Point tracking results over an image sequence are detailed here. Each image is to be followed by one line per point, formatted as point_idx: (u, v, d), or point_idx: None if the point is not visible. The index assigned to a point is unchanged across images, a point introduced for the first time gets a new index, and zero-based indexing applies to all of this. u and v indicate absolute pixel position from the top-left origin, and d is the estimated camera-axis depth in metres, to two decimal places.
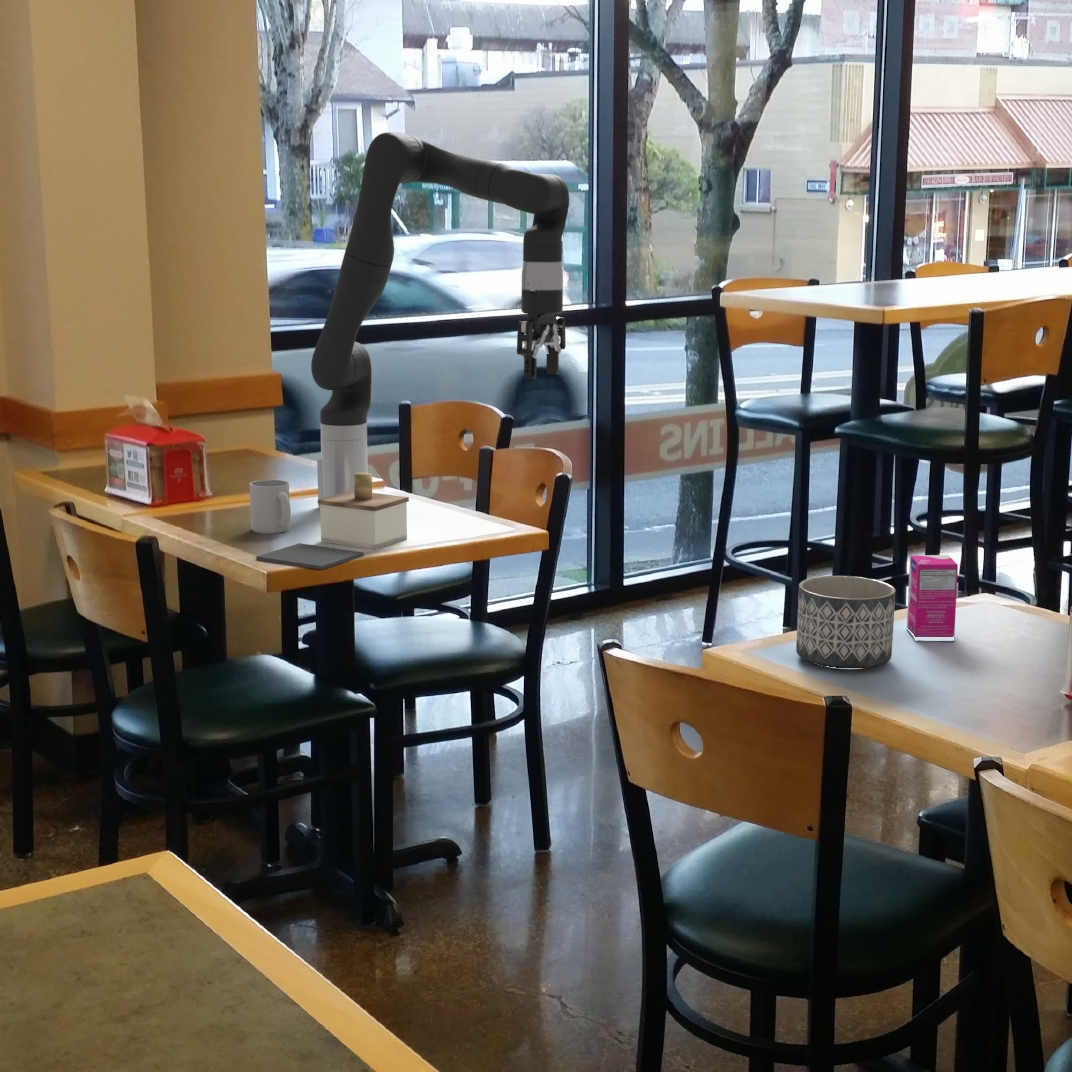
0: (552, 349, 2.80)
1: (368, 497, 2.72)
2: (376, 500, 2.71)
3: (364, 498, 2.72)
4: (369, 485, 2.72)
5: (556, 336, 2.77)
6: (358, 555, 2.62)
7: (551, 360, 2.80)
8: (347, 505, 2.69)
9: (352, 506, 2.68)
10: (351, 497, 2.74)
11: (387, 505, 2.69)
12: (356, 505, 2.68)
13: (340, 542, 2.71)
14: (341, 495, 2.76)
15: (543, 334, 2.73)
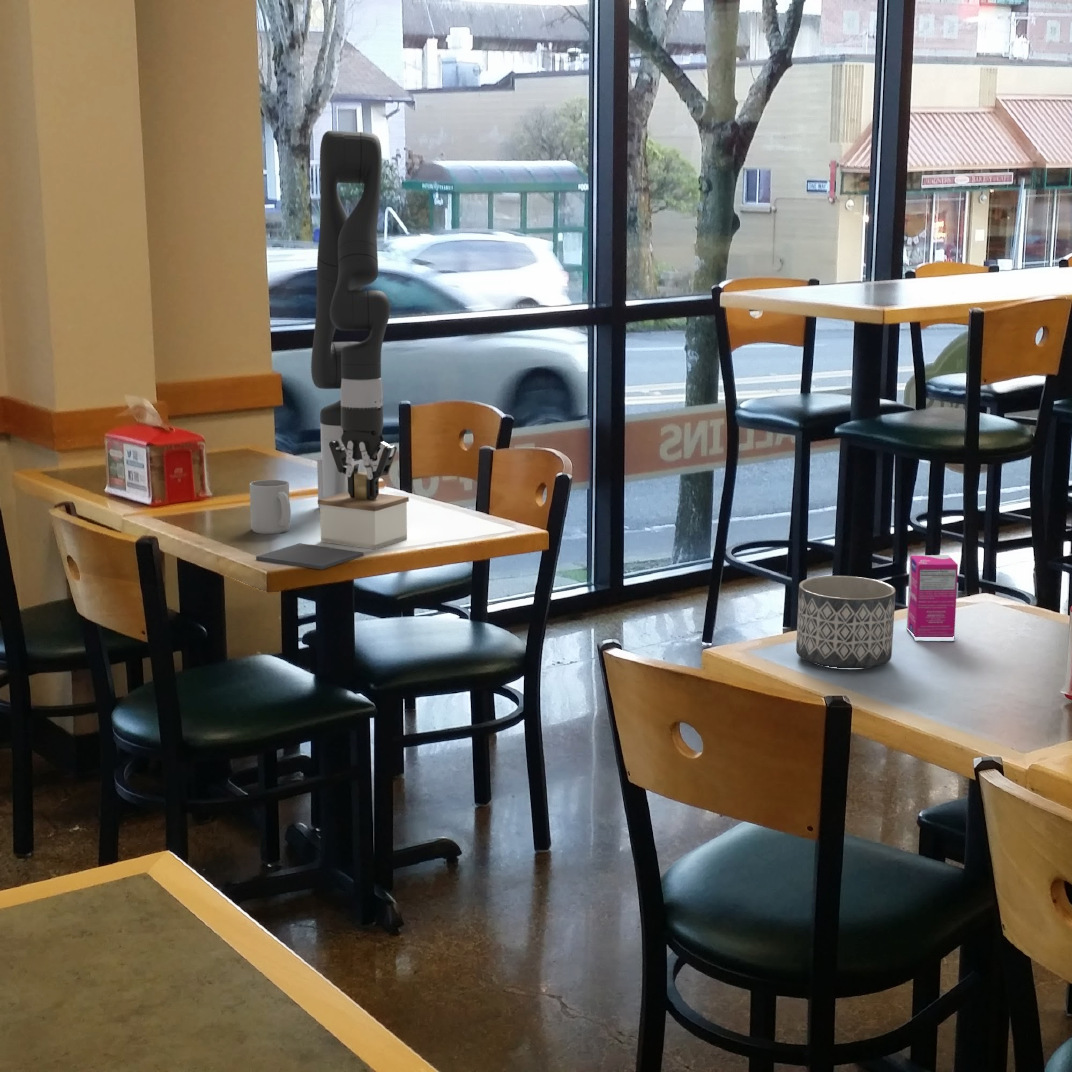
0: (355, 472, 2.73)
1: None
2: (376, 500, 2.71)
3: (364, 498, 2.72)
4: None
5: None
6: (358, 555, 2.62)
7: None
8: (347, 505, 2.69)
9: (352, 506, 2.68)
10: (351, 497, 2.74)
11: (387, 505, 2.69)
12: (356, 505, 2.68)
13: (340, 542, 2.71)
14: (341, 495, 2.76)
15: None
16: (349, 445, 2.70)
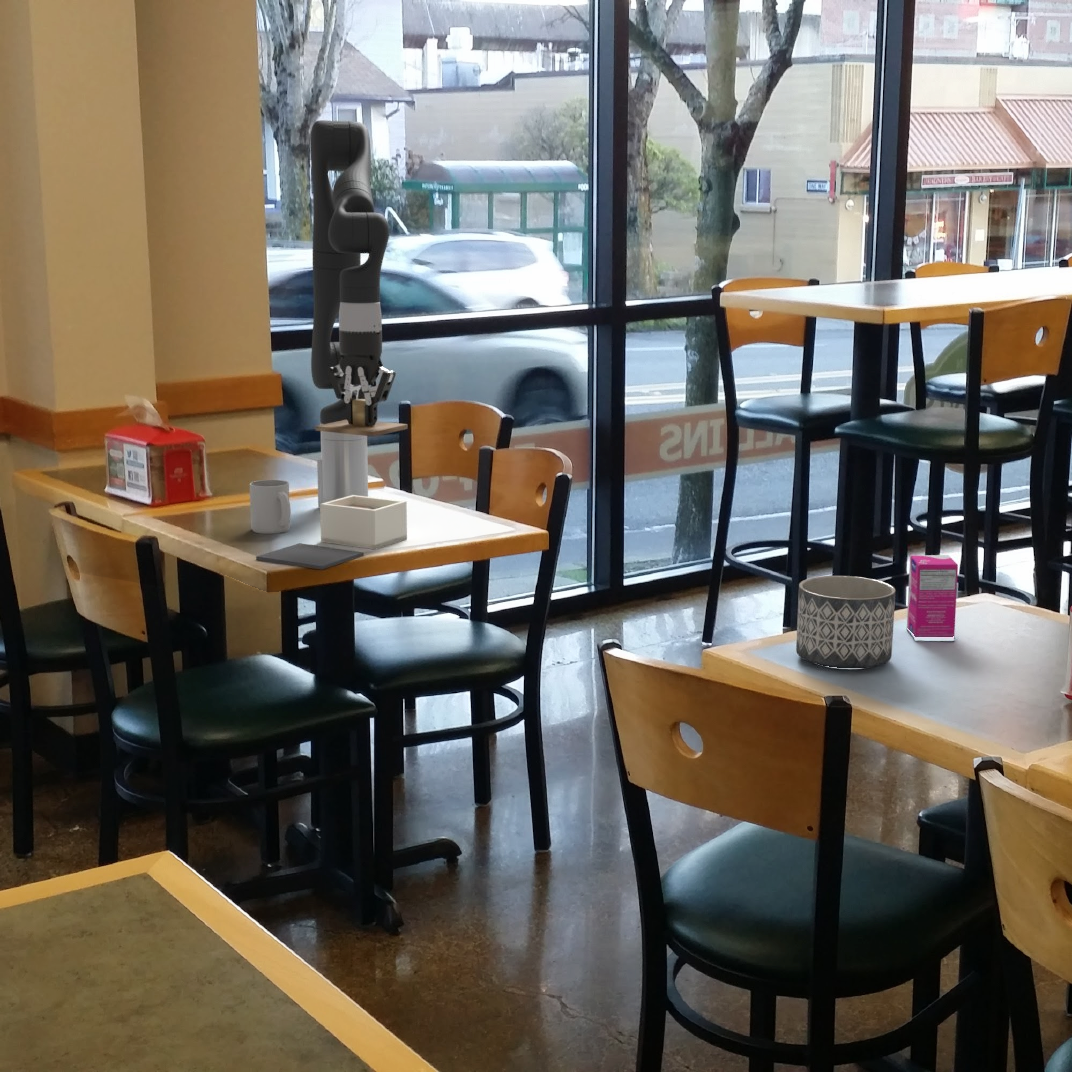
0: (353, 398, 2.70)
1: None
2: (374, 426, 2.69)
3: (362, 424, 2.69)
4: None
5: None
6: (358, 555, 2.62)
7: None
8: (345, 431, 2.66)
9: (350, 432, 2.65)
10: (349, 424, 2.71)
11: (386, 431, 2.66)
12: (354, 431, 2.65)
13: (340, 542, 2.71)
14: (339, 422, 2.73)
15: None
16: (347, 370, 2.67)
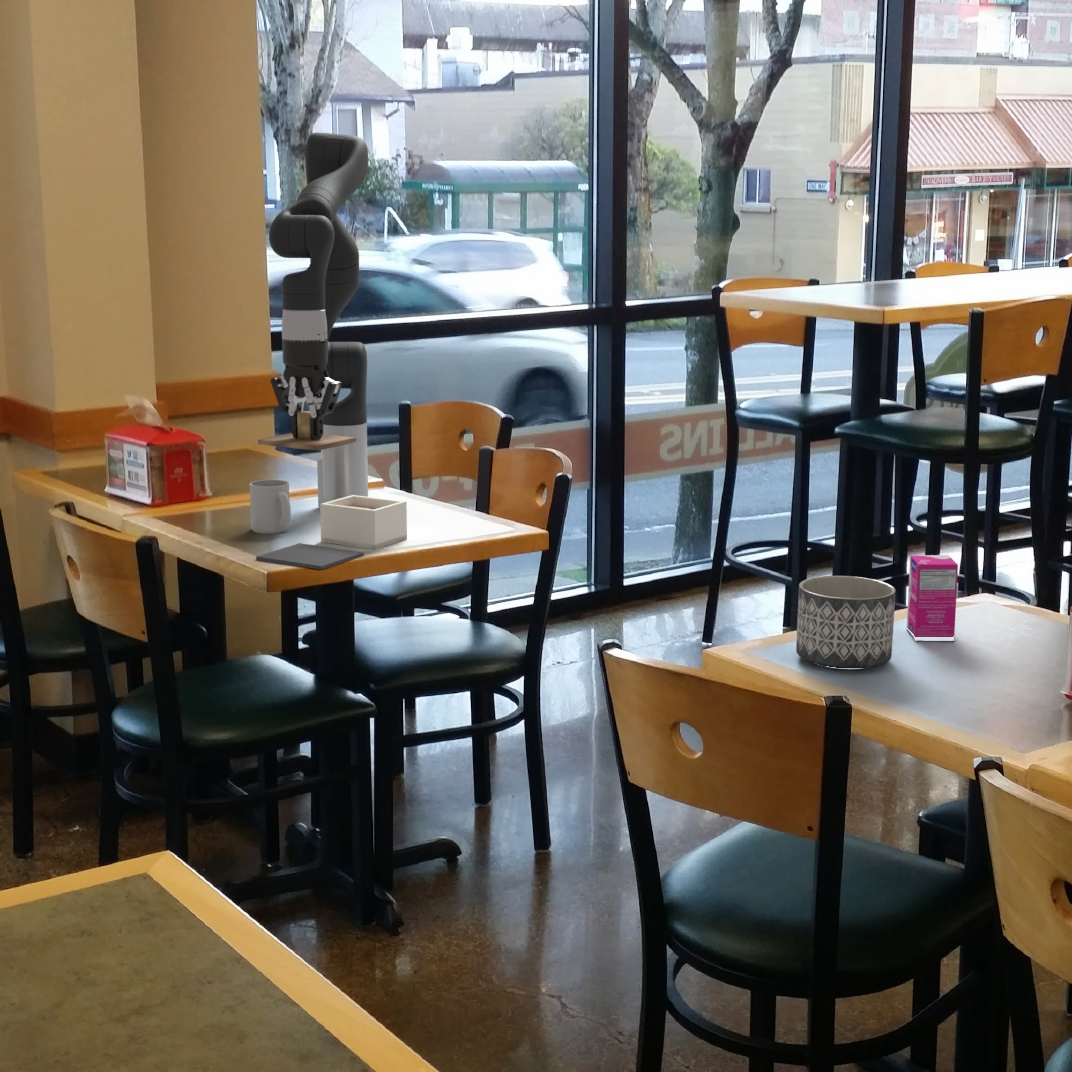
0: (298, 410, 2.57)
1: None
2: (320, 440, 2.55)
3: (308, 438, 2.55)
4: None
5: None
6: (358, 555, 2.62)
7: None
8: (289, 445, 2.52)
9: (294, 446, 2.52)
10: None
11: (331, 445, 2.53)
12: (298, 444, 2.51)
13: (340, 542, 2.71)
14: (284, 436, 2.59)
15: None
16: (291, 381, 2.54)
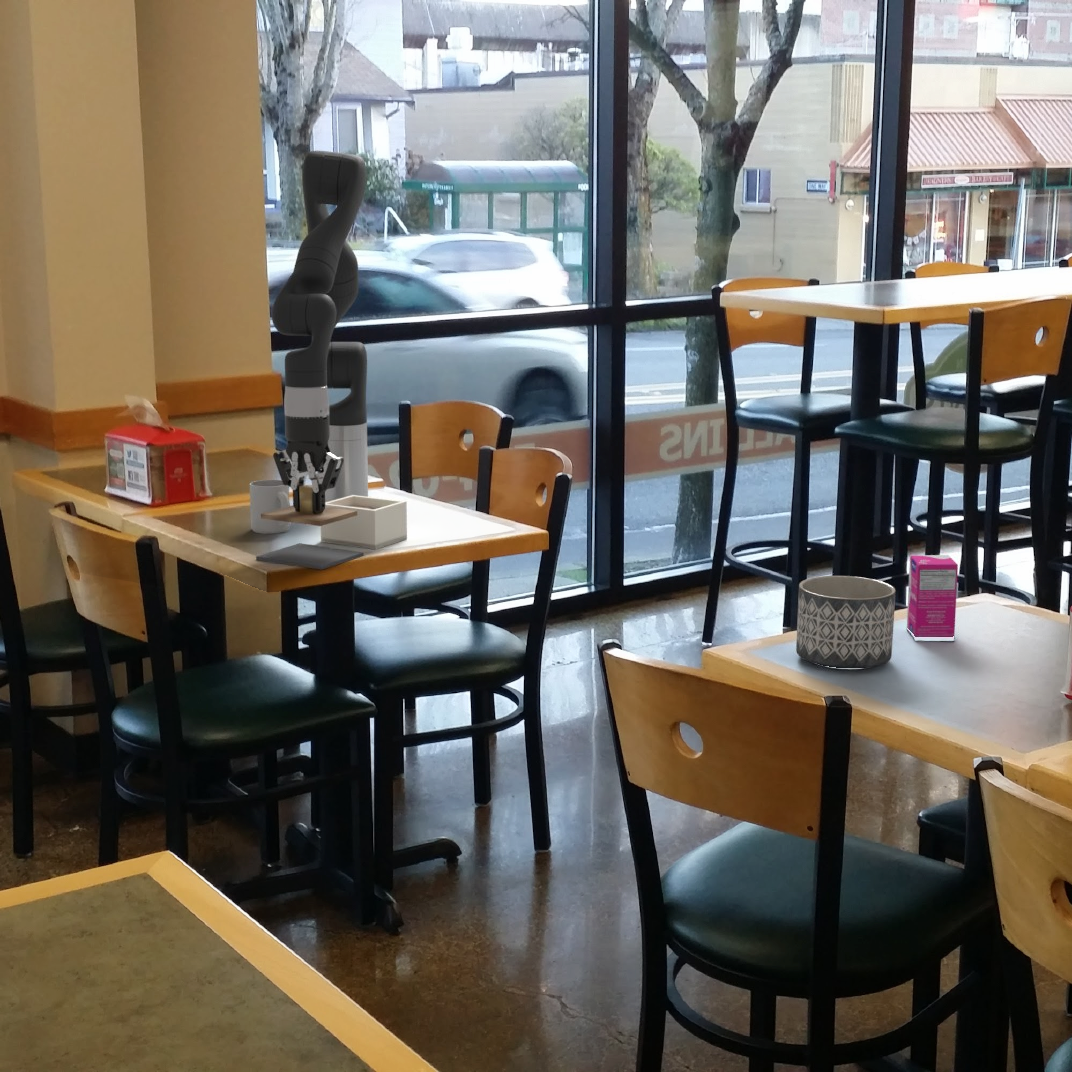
0: (300, 485, 2.60)
1: None
2: (322, 514, 2.58)
3: (310, 512, 2.58)
4: None
5: None
6: (358, 555, 2.62)
7: None
8: (291, 520, 2.55)
9: (296, 521, 2.55)
10: (296, 511, 2.60)
11: (333, 519, 2.55)
12: (300, 520, 2.54)
13: (340, 542, 2.71)
14: (286, 509, 2.62)
15: None
16: (294, 456, 2.57)
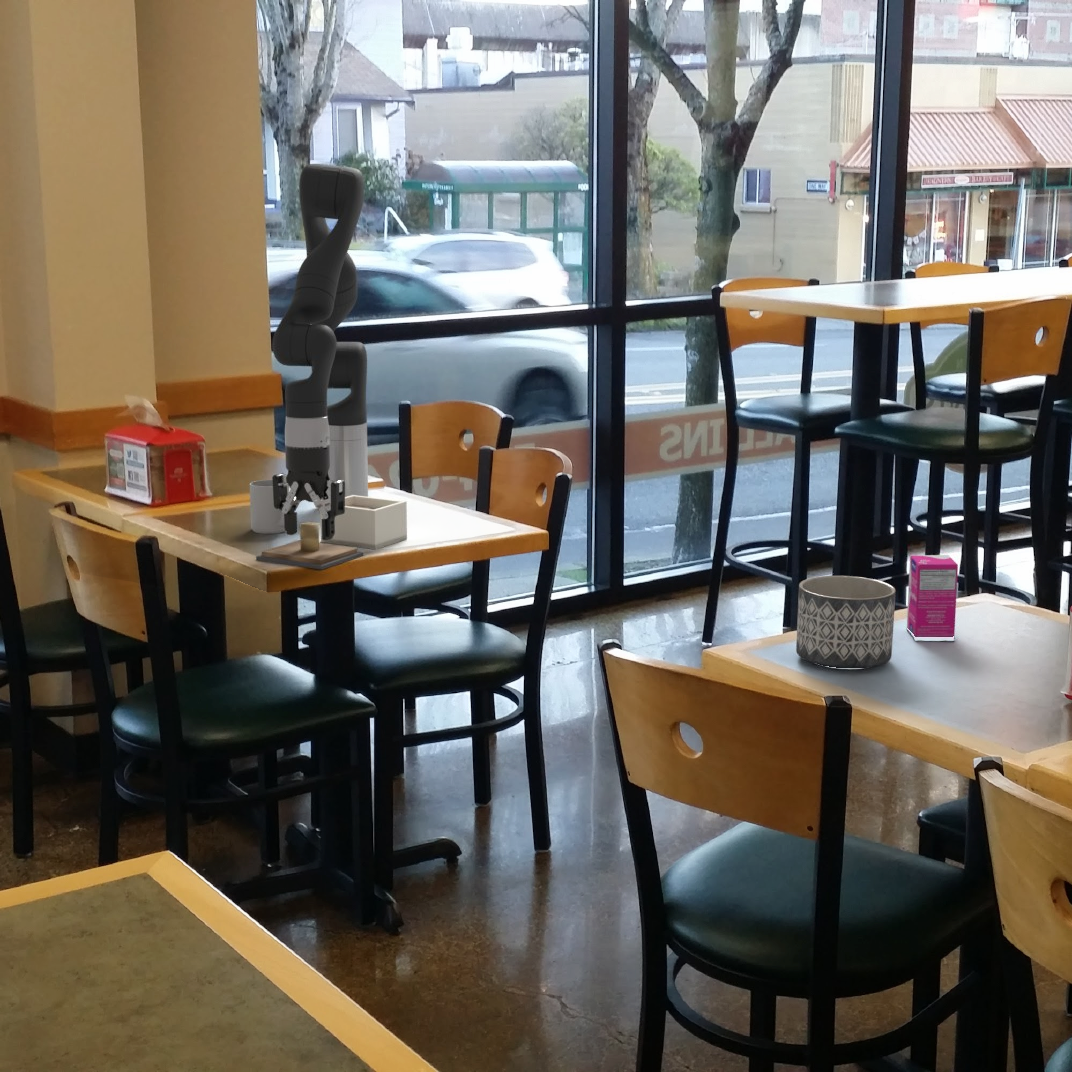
0: (291, 508, 2.61)
1: (315, 548, 2.60)
2: (323, 552, 2.59)
3: (310, 550, 2.60)
4: (316, 536, 2.60)
5: None
6: (358, 555, 2.62)
7: (292, 520, 2.62)
8: (292, 558, 2.57)
9: (297, 559, 2.56)
10: (297, 548, 2.62)
11: (334, 558, 2.57)
12: (301, 558, 2.56)
13: (340, 542, 2.71)
14: (287, 546, 2.64)
15: (325, 490, 2.59)
16: (294, 485, 2.58)
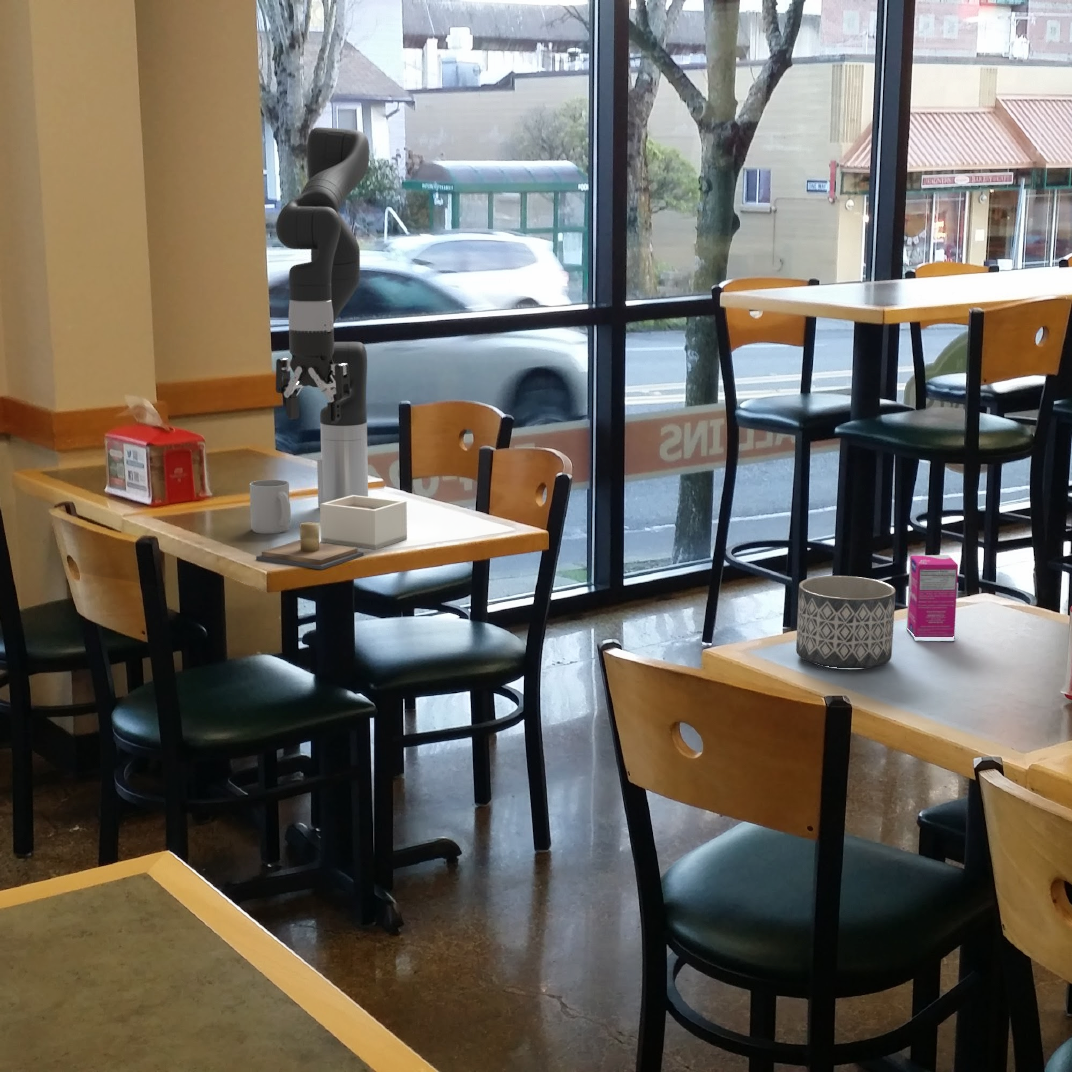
0: (293, 392, 2.61)
1: (315, 548, 2.60)
2: (323, 552, 2.59)
3: (310, 550, 2.60)
4: (316, 536, 2.60)
5: None
6: (358, 555, 2.62)
7: (294, 404, 2.61)
8: (292, 558, 2.57)
9: (297, 559, 2.56)
10: (297, 548, 2.62)
11: (334, 558, 2.57)
12: (301, 558, 2.56)
13: (340, 542, 2.71)
14: (287, 546, 2.64)
15: None
16: (297, 370, 2.57)
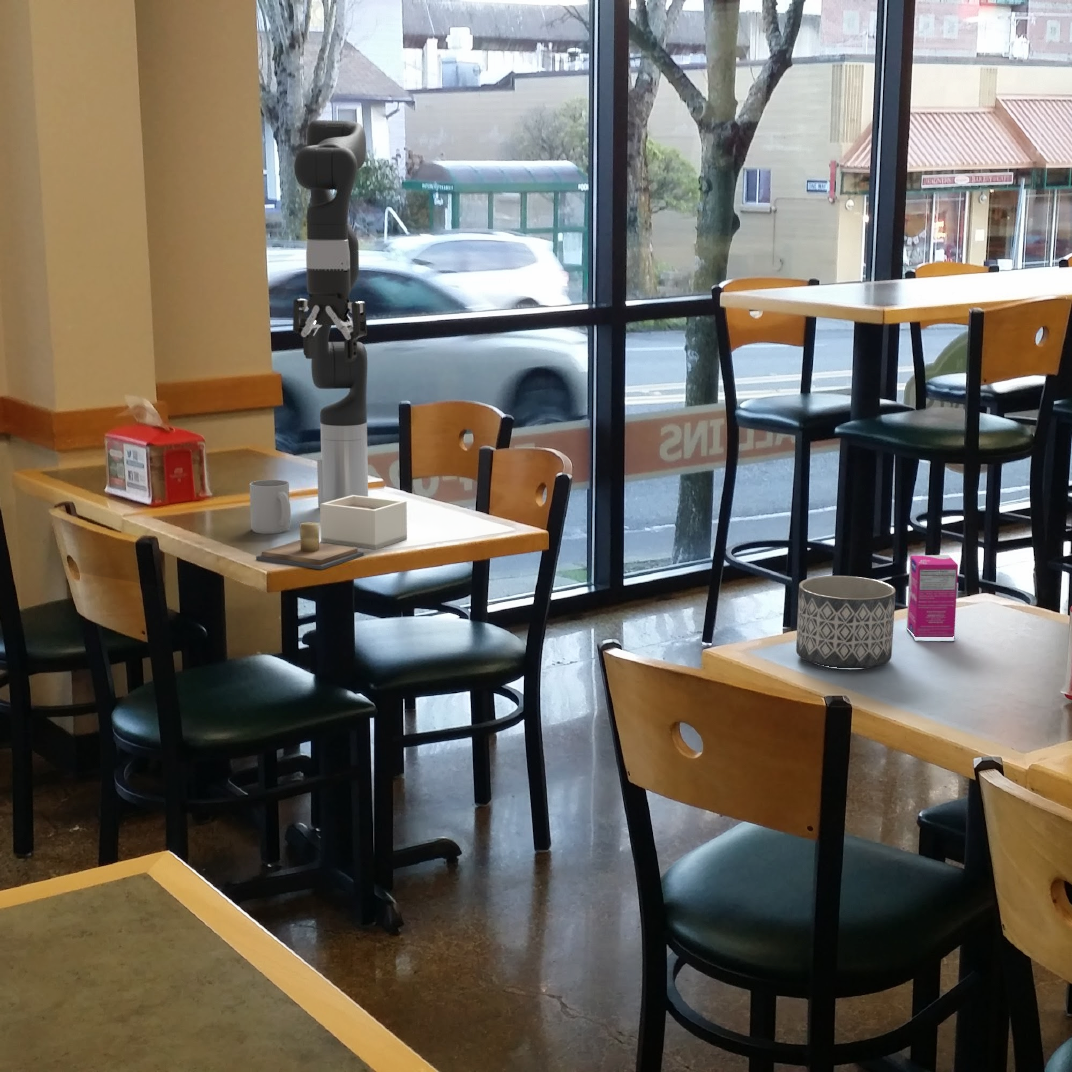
0: (310, 332, 2.66)
1: (315, 548, 2.60)
2: (323, 552, 2.59)
3: (310, 550, 2.60)
4: (316, 536, 2.60)
5: None
6: (358, 555, 2.62)
7: (311, 344, 2.66)
8: (292, 558, 2.57)
9: (297, 559, 2.56)
10: (297, 548, 2.62)
11: (334, 558, 2.57)
12: (301, 558, 2.56)
13: (340, 542, 2.71)
14: (287, 546, 2.64)
15: (346, 314, 2.64)
16: (315, 309, 2.62)
